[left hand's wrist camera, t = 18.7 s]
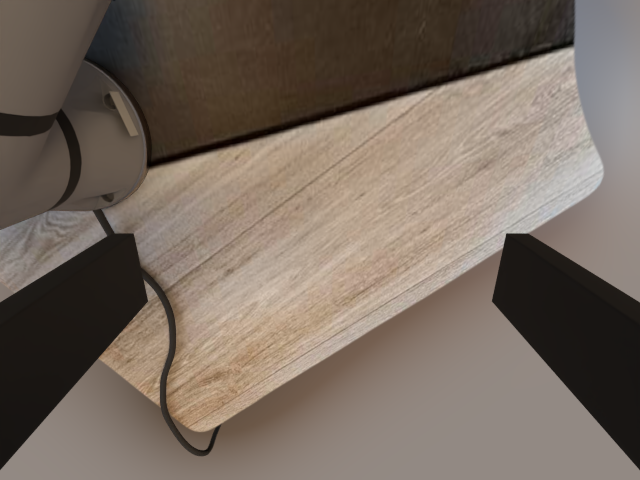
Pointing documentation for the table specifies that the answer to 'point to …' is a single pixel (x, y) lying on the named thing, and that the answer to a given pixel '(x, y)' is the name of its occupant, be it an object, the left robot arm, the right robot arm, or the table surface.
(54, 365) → the left robot arm
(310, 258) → the table surface
